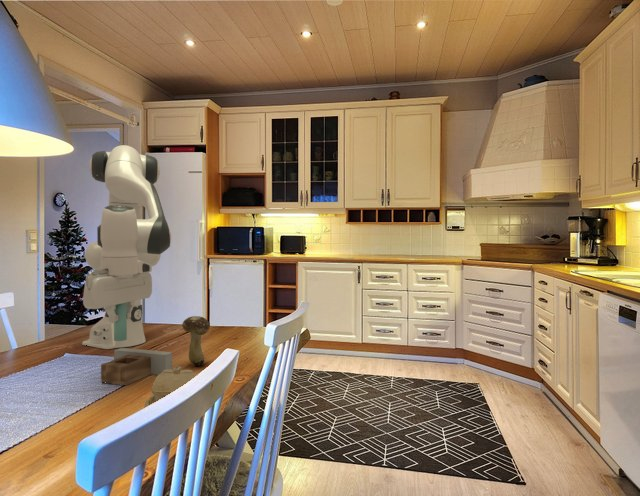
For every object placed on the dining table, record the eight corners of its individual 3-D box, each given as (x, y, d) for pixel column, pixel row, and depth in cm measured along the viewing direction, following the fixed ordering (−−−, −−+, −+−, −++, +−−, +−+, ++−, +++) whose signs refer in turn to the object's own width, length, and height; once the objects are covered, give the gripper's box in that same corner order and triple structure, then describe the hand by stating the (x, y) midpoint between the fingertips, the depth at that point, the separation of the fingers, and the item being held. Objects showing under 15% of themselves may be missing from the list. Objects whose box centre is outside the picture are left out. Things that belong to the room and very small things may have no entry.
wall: (114, 370, 124) (114, 350, 124) (121, 367, 127) (121, 347, 126) (165, 375, 119) (165, 354, 118) (172, 372, 121) (172, 352, 121)
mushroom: (188, 361, 133) (187, 314, 133) (215, 361, 133) (214, 314, 132) (177, 370, 124) (176, 320, 123) (206, 370, 123) (205, 320, 123)
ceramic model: (214, 401, 100) (214, 360, 100) (198, 421, 89) (197, 375, 89) (158, 400, 101) (157, 359, 101) (134, 420, 90) (133, 374, 90)
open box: (101, 382, 113) (100, 364, 113) (128, 371, 122) (127, 354, 122) (125, 385, 110) (125, 367, 110) (150, 374, 120) (150, 356, 120)
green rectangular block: (111, 340, 108) (111, 302, 107) (119, 337, 111) (118, 300, 110) (121, 341, 107) (121, 302, 107) (129, 338, 110) (128, 301, 110)
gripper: (97, 271, 97) (97, 330, 98) (156, 265, 117) (156, 313, 117) (76, 270, 99) (76, 328, 100) (137, 264, 119) (137, 312, 119)
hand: (120, 320), depth 109 cm, fingers closed on green rectangular block, 3 cm apart
